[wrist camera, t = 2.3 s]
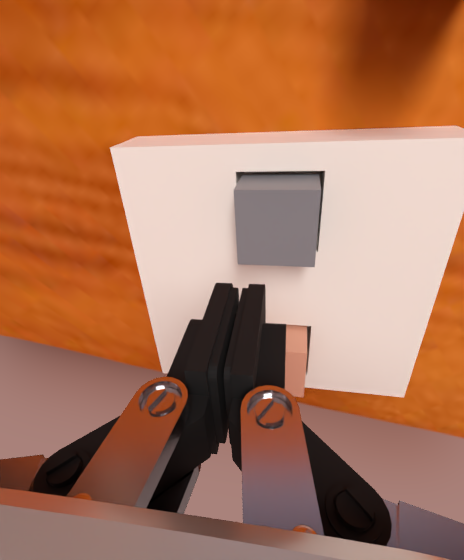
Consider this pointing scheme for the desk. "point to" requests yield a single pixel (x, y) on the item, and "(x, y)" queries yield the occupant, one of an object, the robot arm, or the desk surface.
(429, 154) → the key console
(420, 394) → the desk surface
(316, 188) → the grey key
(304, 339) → the terracotta key
